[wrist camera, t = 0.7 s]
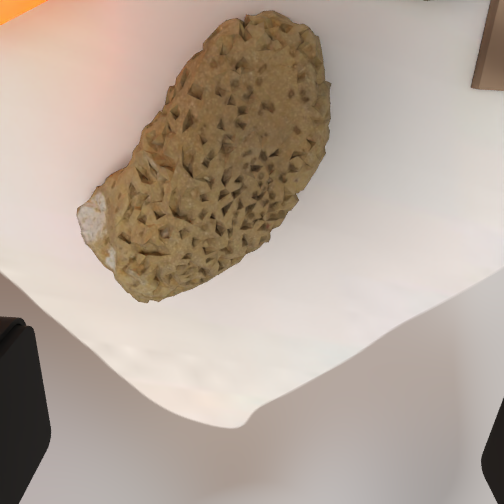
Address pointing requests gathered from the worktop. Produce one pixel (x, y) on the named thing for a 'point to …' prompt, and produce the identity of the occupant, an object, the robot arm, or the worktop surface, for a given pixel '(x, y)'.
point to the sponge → (215, 160)
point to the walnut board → (491, 51)
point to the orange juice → (16, 8)
